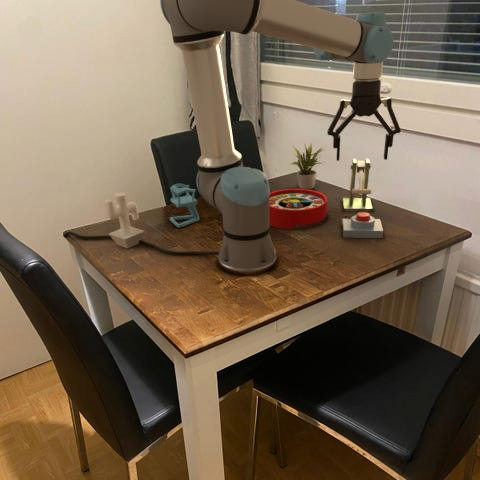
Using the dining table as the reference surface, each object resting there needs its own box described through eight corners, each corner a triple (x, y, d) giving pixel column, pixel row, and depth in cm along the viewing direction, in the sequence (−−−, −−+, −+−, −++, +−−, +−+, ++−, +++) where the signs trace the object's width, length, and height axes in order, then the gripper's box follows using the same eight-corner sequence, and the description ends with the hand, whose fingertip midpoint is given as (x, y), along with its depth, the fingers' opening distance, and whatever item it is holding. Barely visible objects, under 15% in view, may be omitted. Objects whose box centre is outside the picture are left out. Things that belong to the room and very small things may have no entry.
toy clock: (261, 189, 161) (323, 187, 161) (262, 207, 164) (322, 205, 164) (263, 211, 144) (331, 209, 144) (263, 230, 148) (330, 228, 147)
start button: (356, 222, 141) (357, 216, 140) (356, 217, 144) (356, 211, 143) (369, 222, 140) (370, 216, 139) (368, 217, 143) (369, 212, 142)
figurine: (149, 241, 144) (141, 191, 136) (123, 252, 138) (114, 200, 130) (132, 236, 148) (124, 186, 140) (107, 246, 142) (97, 196, 134)
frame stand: (372, 212, 157) (377, 165, 149) (343, 211, 158) (347, 165, 150) (369, 201, 165) (374, 156, 157) (342, 201, 166) (345, 156, 158)
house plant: (333, 195, 171) (336, 147, 163) (294, 198, 170) (295, 150, 161) (321, 183, 183) (324, 137, 175) (285, 186, 182) (285, 140, 173)
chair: (202, 222, 155) (199, 185, 148) (178, 228, 152) (173, 189, 145) (193, 215, 160) (190, 178, 154) (169, 220, 157) (165, 183, 151)
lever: (370, 196, 149) (371, 190, 147) (351, 196, 150) (352, 190, 148) (368, 166, 156) (369, 160, 154) (351, 166, 156) (352, 160, 154)
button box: (343, 237, 141) (344, 224, 139) (341, 225, 148) (342, 212, 146) (382, 238, 139) (384, 224, 137) (379, 226, 147) (380, 213, 145)
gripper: (413, 75, 134) (404, 154, 146) (320, 79, 138) (318, 156, 150) (417, 79, 128) (407, 161, 140) (320, 83, 132) (318, 163, 144)
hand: (361, 159), depth 145 cm, fingers open, 13 cm apart
